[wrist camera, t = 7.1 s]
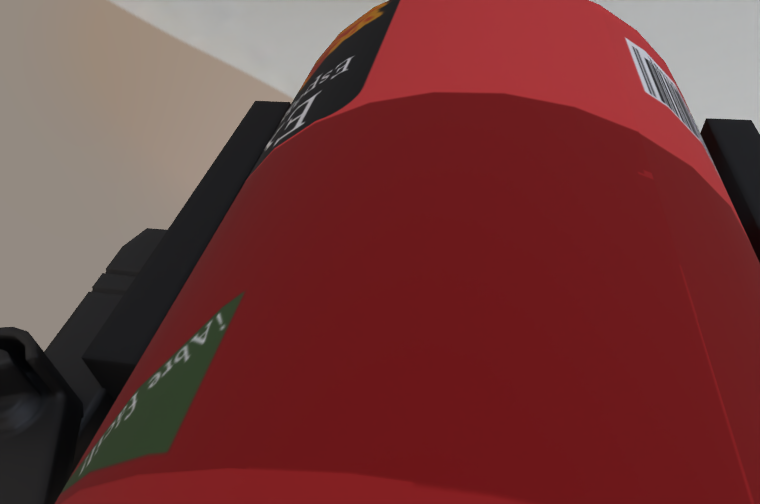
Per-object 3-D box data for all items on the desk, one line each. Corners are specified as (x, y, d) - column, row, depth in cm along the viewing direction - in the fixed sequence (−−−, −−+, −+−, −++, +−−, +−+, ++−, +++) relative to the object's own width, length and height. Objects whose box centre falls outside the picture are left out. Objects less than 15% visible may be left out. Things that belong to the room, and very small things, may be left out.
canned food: (311, -81, 10) (-559, 775, 2) (773, 8, 9) (2103, 1486, 2) (300, 238, 15) (68, 802, 7) (594, 301, 15) (685, 960, 7)
